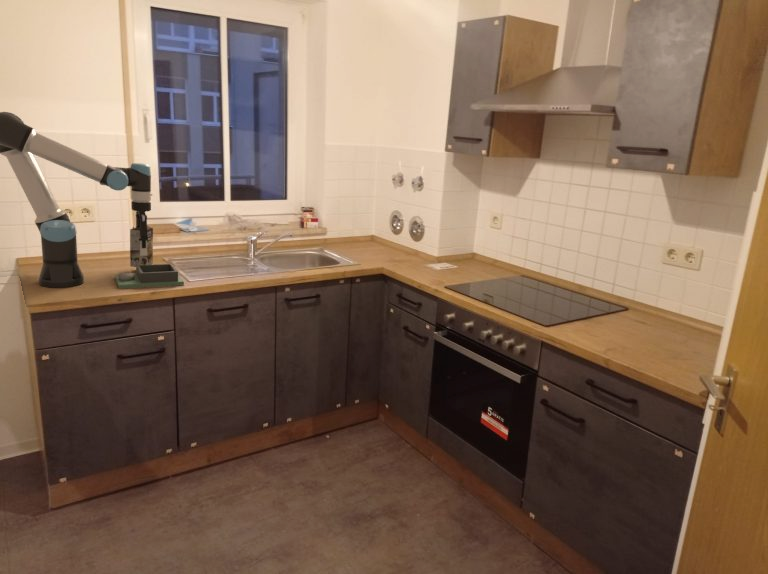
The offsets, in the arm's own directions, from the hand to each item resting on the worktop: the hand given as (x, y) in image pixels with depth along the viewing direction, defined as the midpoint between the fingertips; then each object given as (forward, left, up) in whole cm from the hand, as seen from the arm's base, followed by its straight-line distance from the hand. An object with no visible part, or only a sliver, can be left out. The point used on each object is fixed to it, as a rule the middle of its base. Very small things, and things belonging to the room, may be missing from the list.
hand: (141, 252), depth 245 cm
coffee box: (0, 0, -6) cm, 6 cm away
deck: (0, -18, -8) cm, 20 cm away
